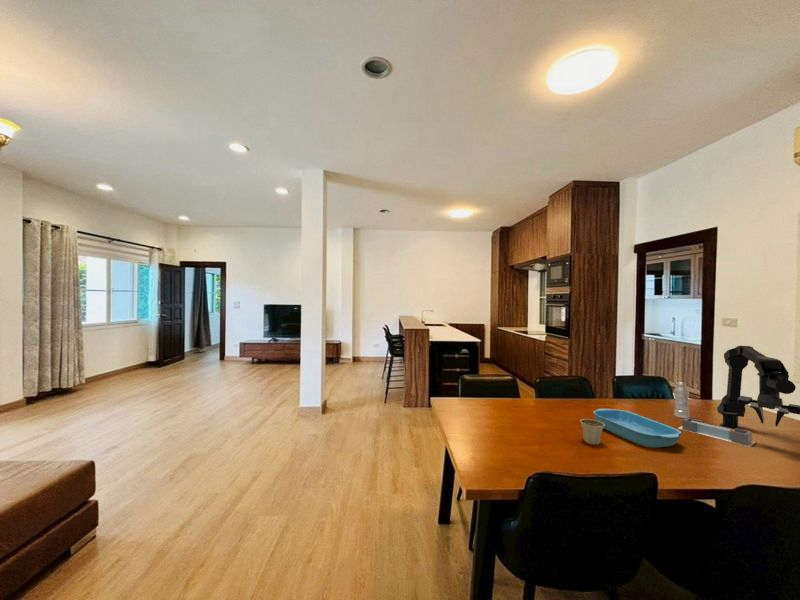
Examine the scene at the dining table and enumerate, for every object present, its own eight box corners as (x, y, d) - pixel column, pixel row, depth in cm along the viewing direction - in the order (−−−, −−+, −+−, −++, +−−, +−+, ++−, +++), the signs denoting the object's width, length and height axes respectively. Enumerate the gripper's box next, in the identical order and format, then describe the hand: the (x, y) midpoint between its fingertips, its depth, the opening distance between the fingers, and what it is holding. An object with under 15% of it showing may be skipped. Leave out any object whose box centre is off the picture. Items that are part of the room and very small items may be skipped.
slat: (691, 428, 161) (691, 420, 161) (731, 438, 150) (731, 429, 150) (689, 429, 159) (689, 421, 159) (729, 440, 148) (729, 431, 148)
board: (683, 426, 166) (683, 424, 166) (755, 444, 146) (755, 442, 146) (677, 429, 161) (677, 428, 161) (750, 448, 141) (750, 446, 141)
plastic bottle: (692, 420, 175) (692, 383, 175) (678, 419, 176) (678, 382, 177) (684, 417, 181) (684, 381, 182) (671, 416, 183) (671, 380, 183)
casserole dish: (694, 450, 139) (694, 433, 139) (652, 454, 134) (652, 437, 134) (618, 420, 175) (618, 407, 175) (583, 423, 170) (583, 409, 170)
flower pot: (601, 439, 148) (601, 420, 148) (607, 448, 139) (607, 427, 139) (578, 436, 151) (578, 417, 151) (582, 444, 142) (582, 424, 142)
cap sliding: (748, 445, 141) (747, 435, 142) (731, 441, 146) (731, 431, 146) (751, 441, 146) (751, 431, 146) (735, 437, 150) (735, 428, 150)
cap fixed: (687, 426, 164) (687, 417, 164) (701, 429, 160) (701, 420, 160) (682, 429, 160) (682, 420, 160) (696, 432, 156) (696, 423, 156)
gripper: (733, 385, 143) (733, 421, 142) (800, 396, 127) (801, 436, 127) (740, 383, 149) (740, 417, 148) (804, 392, 133) (805, 430, 133)
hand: (769, 424), depth 139 cm, fingers open, 4 cm apart
